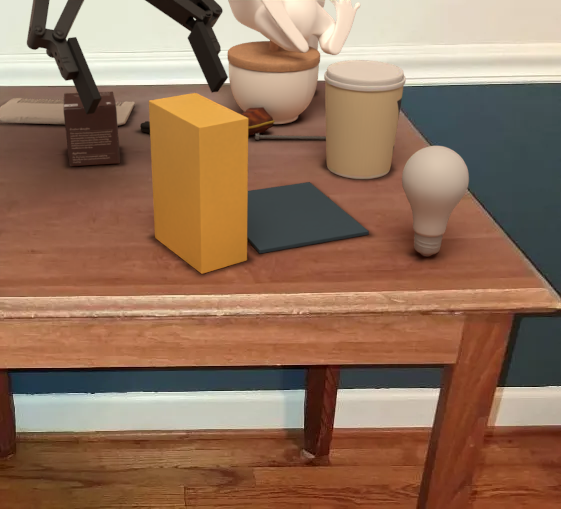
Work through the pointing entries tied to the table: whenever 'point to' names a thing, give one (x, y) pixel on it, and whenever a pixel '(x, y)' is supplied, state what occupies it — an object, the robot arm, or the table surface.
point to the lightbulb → (433, 193)
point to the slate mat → (296, 218)
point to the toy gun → (256, 116)
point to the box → (91, 131)
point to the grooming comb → (48, 111)
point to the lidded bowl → (273, 78)
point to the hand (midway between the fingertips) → (159, 95)
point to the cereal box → (200, 180)
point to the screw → (288, 137)
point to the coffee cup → (362, 117)
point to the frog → (297, 22)
